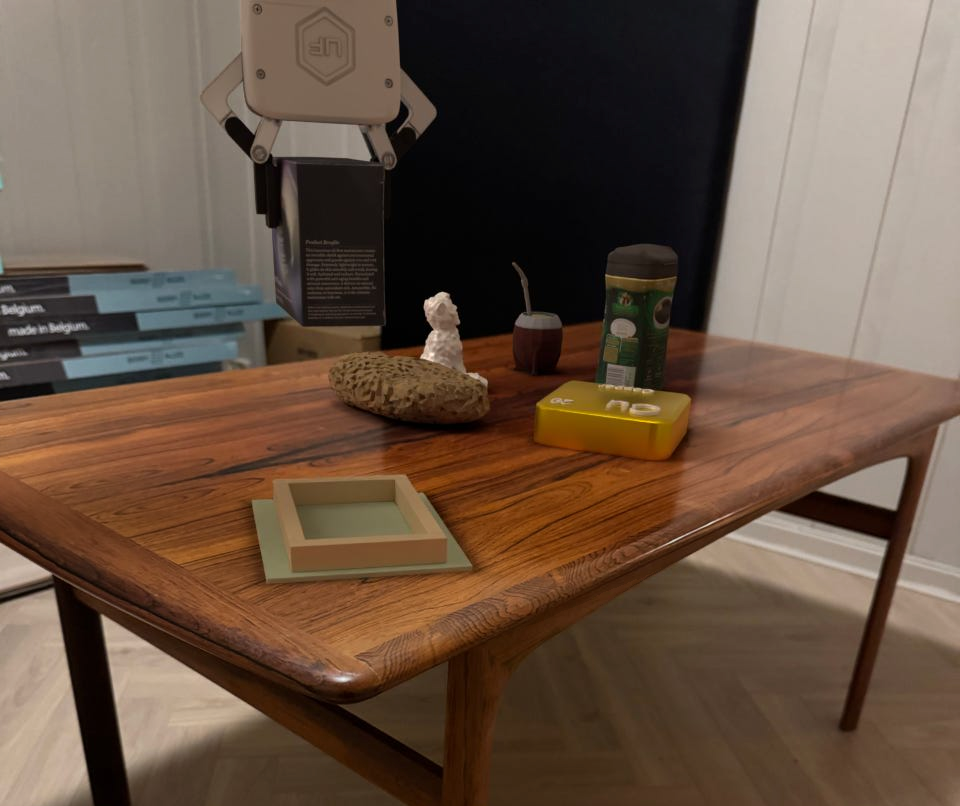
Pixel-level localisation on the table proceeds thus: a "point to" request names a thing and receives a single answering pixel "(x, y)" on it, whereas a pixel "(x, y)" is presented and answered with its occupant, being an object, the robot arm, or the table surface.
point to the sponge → (408, 388)
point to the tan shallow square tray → (352, 530)
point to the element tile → (612, 420)
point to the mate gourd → (536, 338)
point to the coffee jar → (637, 316)
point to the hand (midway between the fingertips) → (324, 226)
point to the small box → (330, 241)
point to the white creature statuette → (445, 335)
